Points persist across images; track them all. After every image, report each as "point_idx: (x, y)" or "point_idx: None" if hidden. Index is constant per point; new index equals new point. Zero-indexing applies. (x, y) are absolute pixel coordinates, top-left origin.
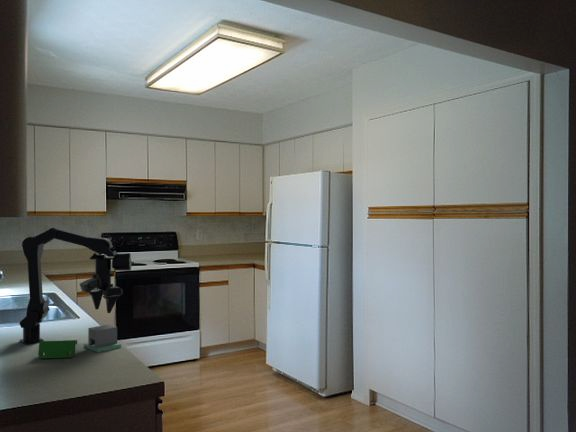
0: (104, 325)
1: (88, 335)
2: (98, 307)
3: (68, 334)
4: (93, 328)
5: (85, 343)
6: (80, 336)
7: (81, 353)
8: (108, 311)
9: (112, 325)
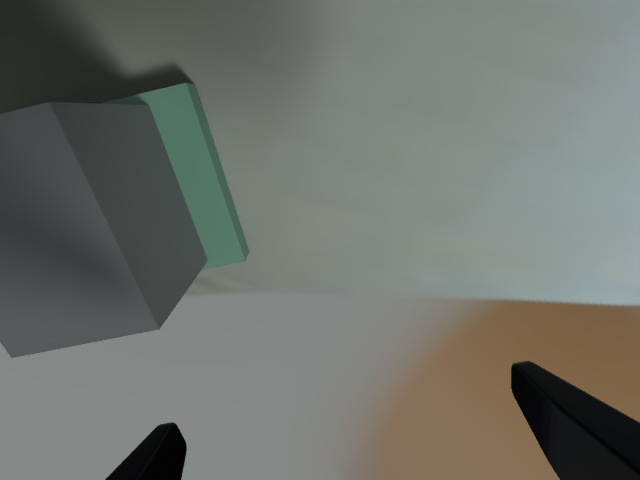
0: (119, 284)
1: (104, 104)
2: (527, 414)
3: (632, 70)
4: (5, 149)
5: (183, 91)
6: (504, 138)
7: (13, 12)
8: (144, 451)
9: (92, 341)
